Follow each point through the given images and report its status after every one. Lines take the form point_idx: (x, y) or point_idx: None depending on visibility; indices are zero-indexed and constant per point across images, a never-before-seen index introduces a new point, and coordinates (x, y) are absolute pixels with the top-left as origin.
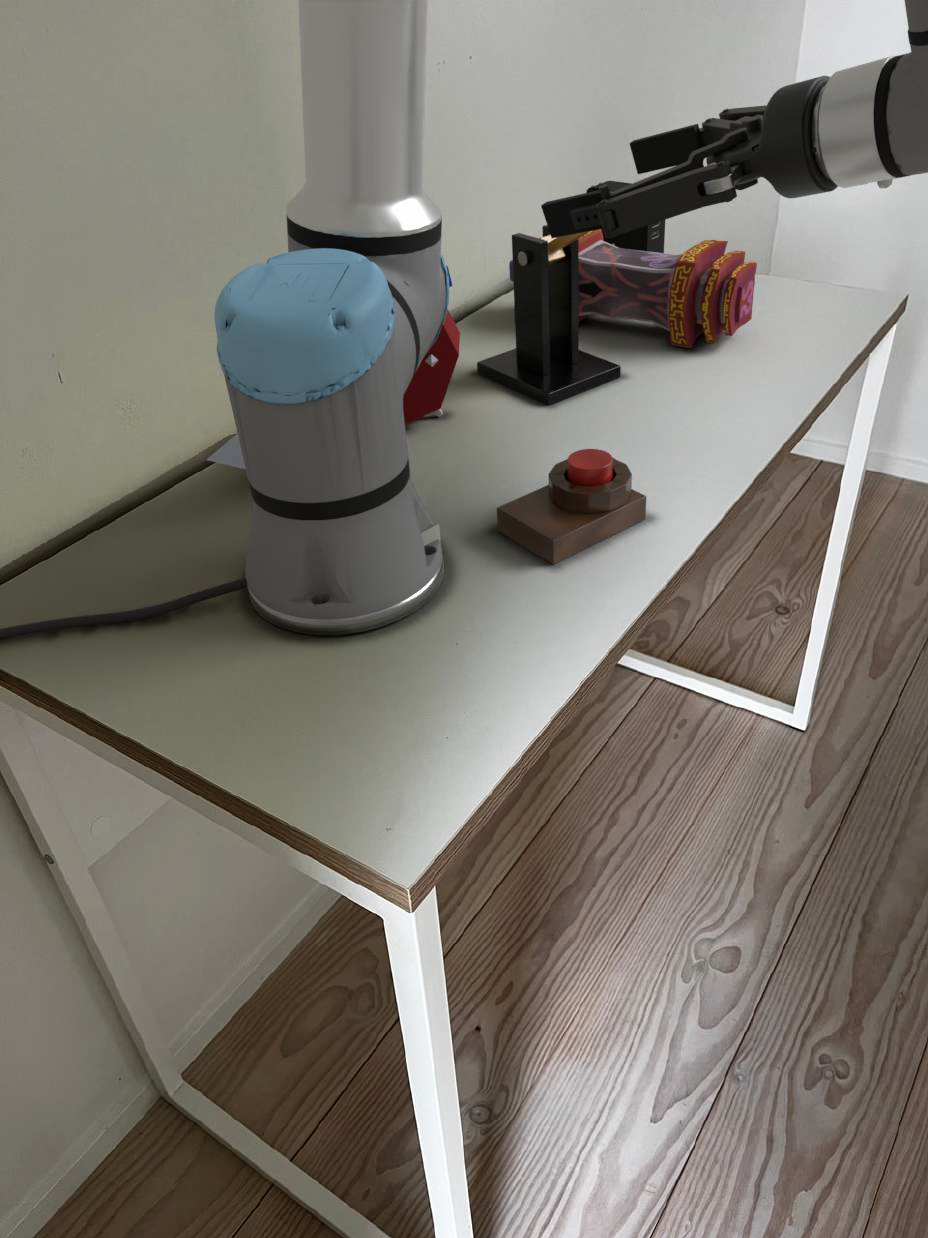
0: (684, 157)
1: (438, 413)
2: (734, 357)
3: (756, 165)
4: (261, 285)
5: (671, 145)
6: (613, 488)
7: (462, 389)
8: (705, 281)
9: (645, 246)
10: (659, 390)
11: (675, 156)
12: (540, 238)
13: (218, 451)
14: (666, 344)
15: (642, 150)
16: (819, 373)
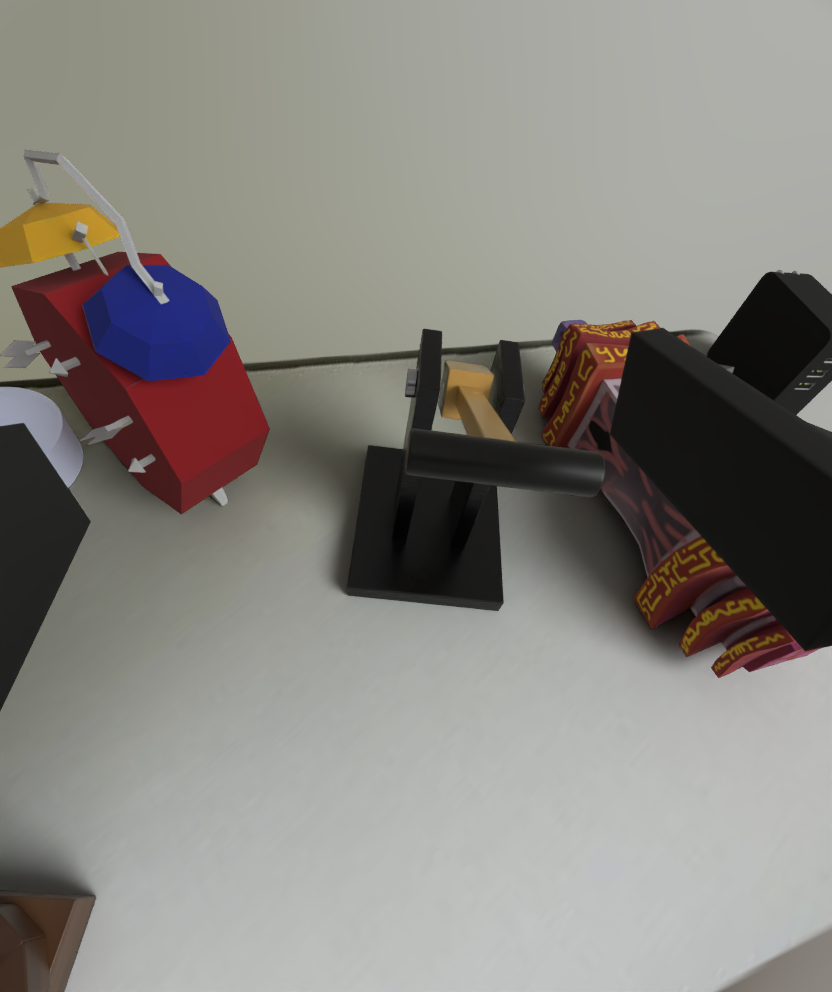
0: (748, 562)
1: (218, 501)
2: (694, 706)
3: None
4: None
5: (736, 475)
6: None
7: (314, 472)
8: (743, 584)
9: (776, 393)
10: (508, 694)
11: (723, 519)
12: (448, 370)
13: None
14: (633, 586)
15: (647, 390)
16: (791, 895)
